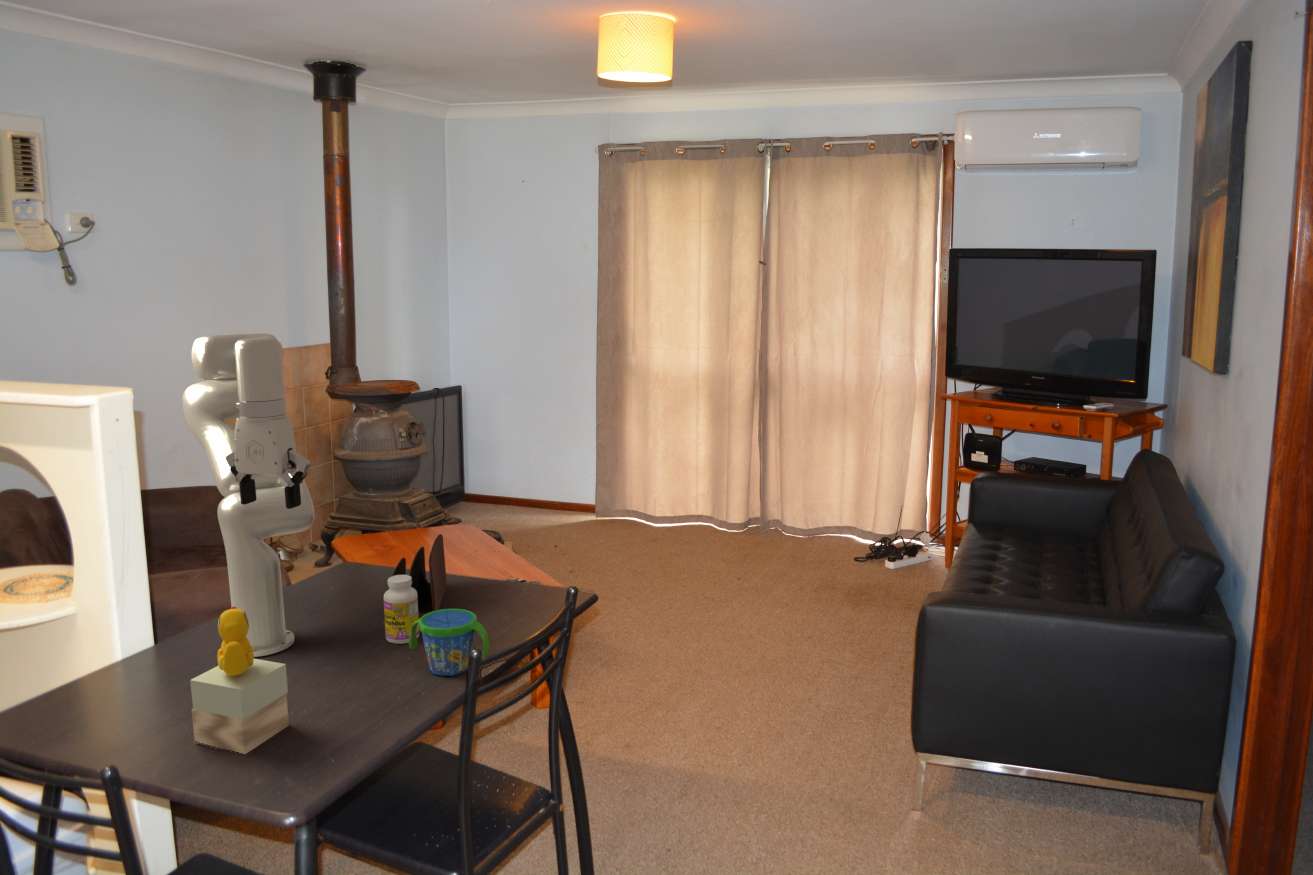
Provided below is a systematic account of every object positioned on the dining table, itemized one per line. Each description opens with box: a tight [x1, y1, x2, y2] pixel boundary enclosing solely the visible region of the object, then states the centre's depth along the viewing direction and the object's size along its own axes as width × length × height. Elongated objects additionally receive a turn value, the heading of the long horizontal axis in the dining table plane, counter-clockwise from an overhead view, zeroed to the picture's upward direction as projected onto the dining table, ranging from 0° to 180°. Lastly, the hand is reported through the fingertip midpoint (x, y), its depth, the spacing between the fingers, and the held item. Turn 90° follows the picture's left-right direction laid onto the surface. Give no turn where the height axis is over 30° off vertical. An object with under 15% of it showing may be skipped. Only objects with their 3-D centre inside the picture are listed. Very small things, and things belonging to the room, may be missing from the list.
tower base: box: [191, 693, 290, 755], centre depth 157 cm, size 10×10×6 cm
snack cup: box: [408, 608, 491, 677], centre depth 181 cm, size 16×10×10 cm
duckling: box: [216, 606, 255, 676], centre depth 155 cm, size 11×5×10 cm, turn 22°
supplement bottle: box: [383, 574, 420, 645], centre depth 196 cm, size 7×7×13 cm
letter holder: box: [391, 533, 448, 619], centre depth 216 cm, size 10×20×14 cm, turn 5°
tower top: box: [189, 658, 289, 719], centre depth 156 cm, size 10×10×5 cm
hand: (271, 504), depth 171 cm, fingers open, 9 cm apart
